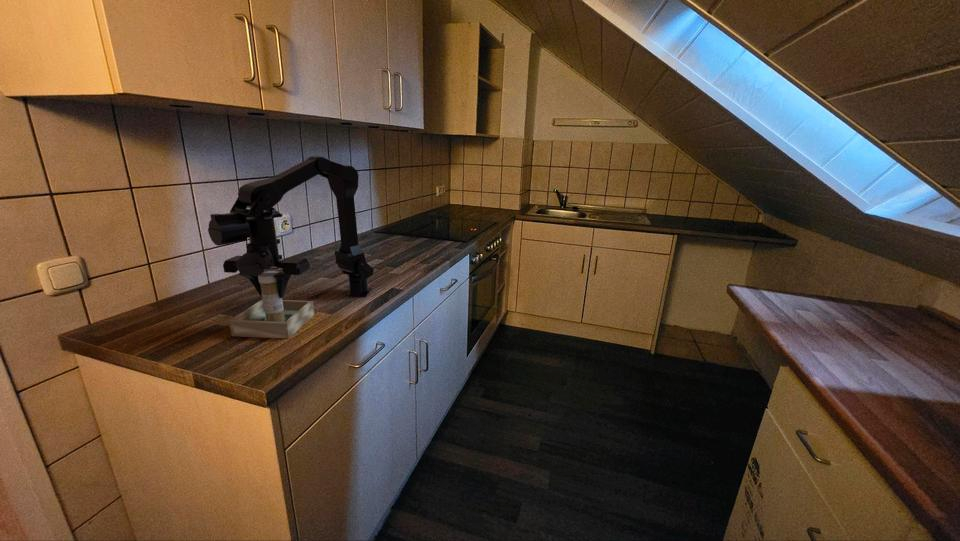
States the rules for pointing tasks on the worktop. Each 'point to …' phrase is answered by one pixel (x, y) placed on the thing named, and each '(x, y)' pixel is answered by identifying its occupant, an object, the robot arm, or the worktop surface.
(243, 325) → the peg box
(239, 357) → the worktop surface
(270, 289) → the sprinkles bottle
